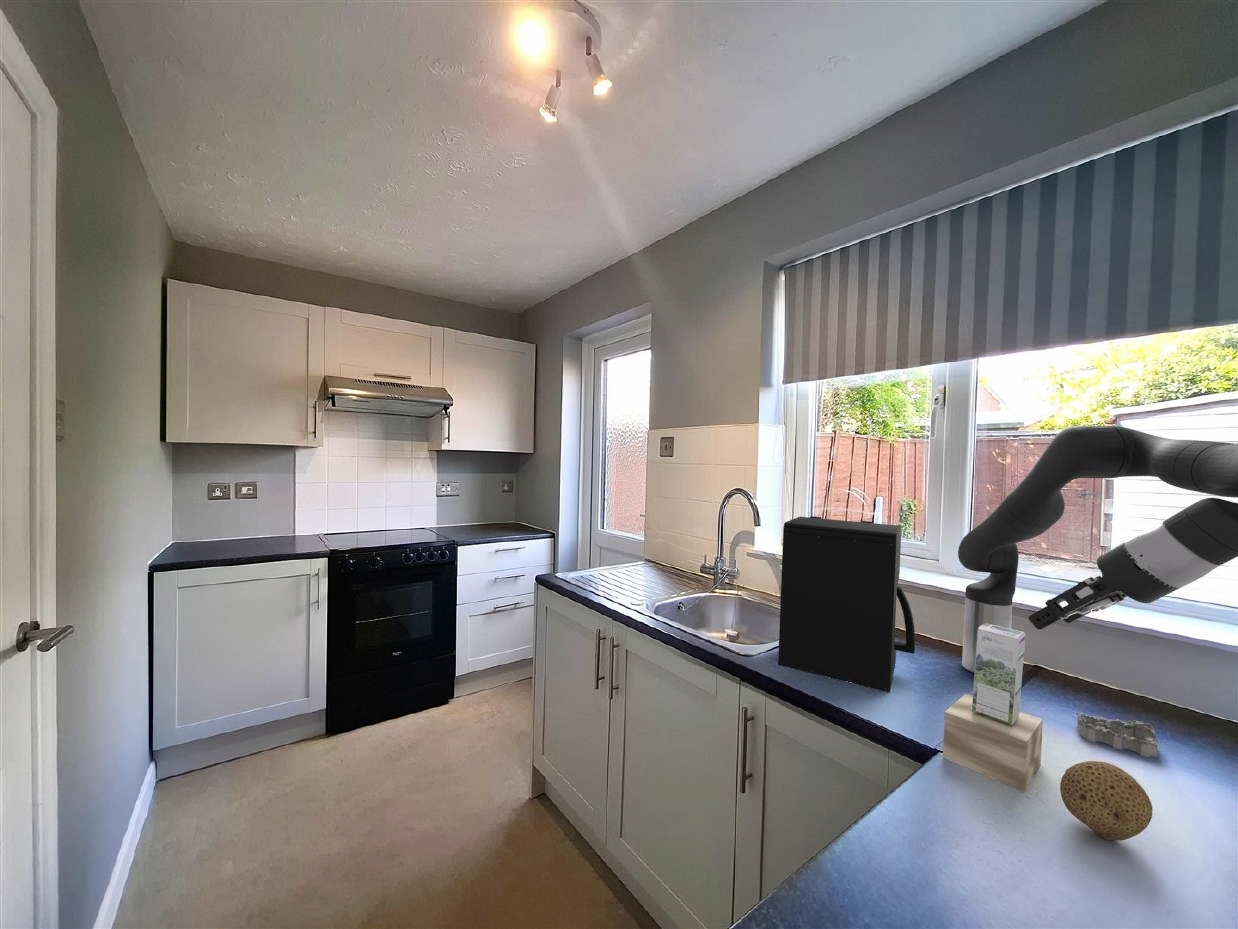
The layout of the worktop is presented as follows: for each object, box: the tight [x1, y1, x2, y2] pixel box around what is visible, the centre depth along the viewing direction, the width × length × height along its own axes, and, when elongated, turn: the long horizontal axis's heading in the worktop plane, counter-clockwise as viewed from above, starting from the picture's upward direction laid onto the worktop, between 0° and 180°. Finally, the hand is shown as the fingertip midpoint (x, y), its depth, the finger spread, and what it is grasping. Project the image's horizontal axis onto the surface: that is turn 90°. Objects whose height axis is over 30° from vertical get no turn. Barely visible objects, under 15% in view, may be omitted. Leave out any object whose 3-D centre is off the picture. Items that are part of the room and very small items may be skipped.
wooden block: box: [942, 693, 1044, 793], centre depth 85 cm, size 11×11×8 cm
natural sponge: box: [1059, 760, 1154, 842], centre depth 68 cm, size 9×9×10 cm
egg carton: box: [1076, 711, 1160, 758], centre depth 92 cm, size 11×8×4 cm
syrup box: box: [972, 623, 1026, 725], centre depth 85 cm, size 6×6×14 cm
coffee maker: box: [777, 515, 916, 694], centre depth 121 cm, size 28×20×35 cm
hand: (1048, 620), depth 78 cm, fingers open, 8 cm apart
